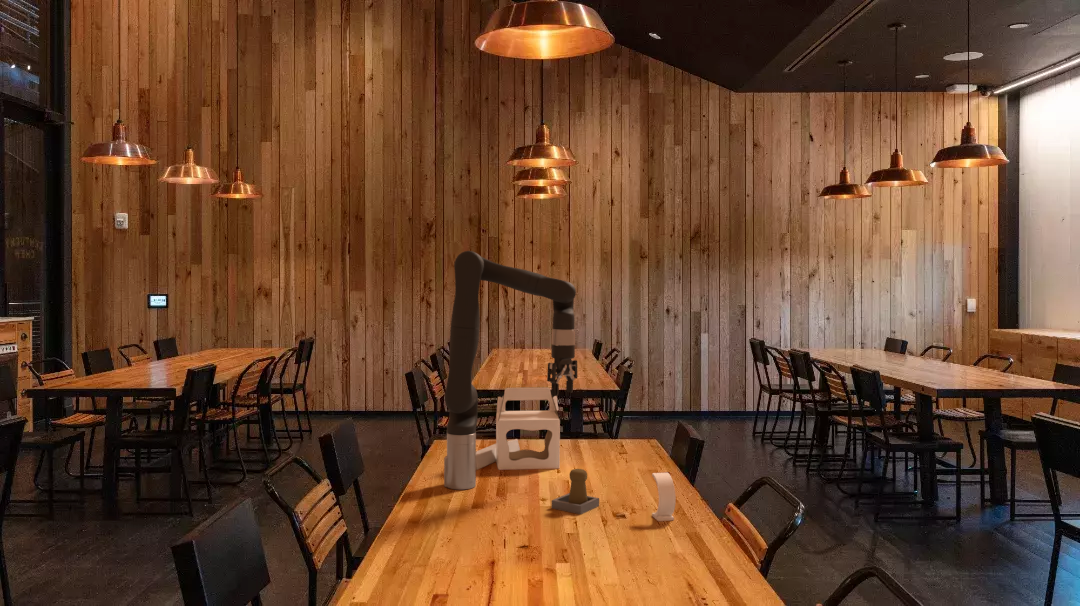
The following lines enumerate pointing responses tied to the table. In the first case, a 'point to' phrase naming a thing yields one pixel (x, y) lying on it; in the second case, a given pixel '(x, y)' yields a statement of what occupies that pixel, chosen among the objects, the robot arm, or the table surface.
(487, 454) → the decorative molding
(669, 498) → the white curved bracket
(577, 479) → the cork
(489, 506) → the table surface
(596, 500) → the square frame
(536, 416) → the gable box
